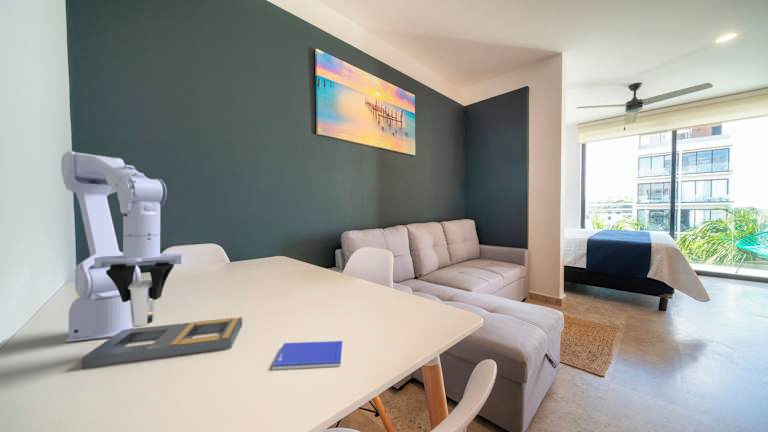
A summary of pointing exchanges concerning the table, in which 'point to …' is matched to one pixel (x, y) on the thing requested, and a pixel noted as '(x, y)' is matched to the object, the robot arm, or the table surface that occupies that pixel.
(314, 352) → the hard drive
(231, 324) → the grey slotted plate
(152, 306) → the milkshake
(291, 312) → the table surface
